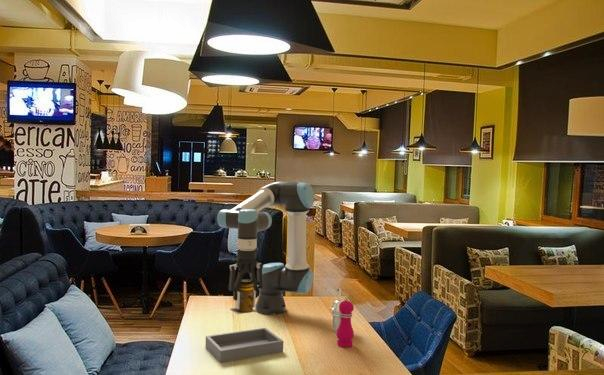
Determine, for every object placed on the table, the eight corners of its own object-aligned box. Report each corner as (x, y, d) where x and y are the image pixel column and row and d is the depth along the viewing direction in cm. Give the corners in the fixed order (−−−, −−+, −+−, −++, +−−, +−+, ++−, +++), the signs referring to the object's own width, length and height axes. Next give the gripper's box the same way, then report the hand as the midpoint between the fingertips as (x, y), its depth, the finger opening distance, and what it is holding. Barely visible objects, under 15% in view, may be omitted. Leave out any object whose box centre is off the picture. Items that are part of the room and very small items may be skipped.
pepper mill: (357, 345, 216) (359, 297, 214) (346, 349, 210) (348, 300, 209) (343, 340, 220) (345, 293, 219) (332, 344, 215) (334, 297, 214)
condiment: (256, 311, 204) (257, 281, 203) (237, 314, 199) (238, 283, 199) (248, 306, 210) (249, 277, 209) (229, 309, 206) (230, 279, 205)
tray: (265, 338, 220) (265, 327, 220) (283, 352, 205) (283, 341, 205) (205, 347, 207) (205, 336, 207) (220, 362, 192) (220, 350, 192)
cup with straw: (351, 330, 233) (353, 286, 232) (340, 335, 226) (342, 290, 225) (336, 325, 239) (338, 282, 238) (324, 330, 232) (326, 286, 231)
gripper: (227, 252, 196) (225, 312, 197) (273, 249, 205) (271, 307, 206) (220, 248, 203) (218, 307, 204) (265, 246, 212) (263, 302, 213)
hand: (245, 307), depth 205 cm, fingers closed on condiment, 6 cm apart
